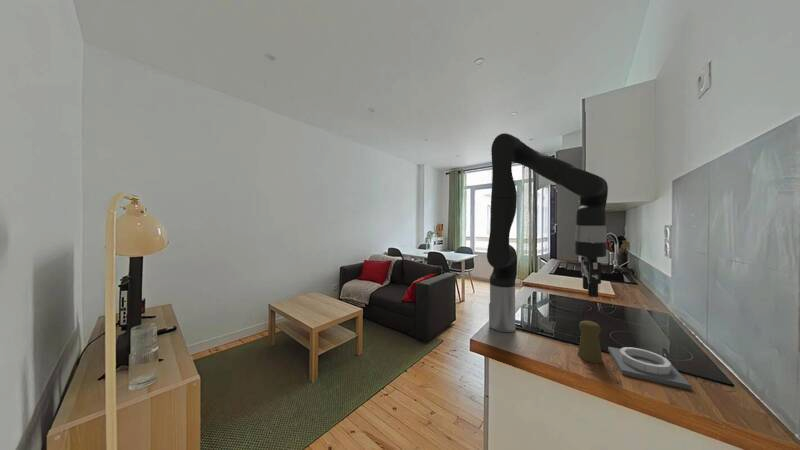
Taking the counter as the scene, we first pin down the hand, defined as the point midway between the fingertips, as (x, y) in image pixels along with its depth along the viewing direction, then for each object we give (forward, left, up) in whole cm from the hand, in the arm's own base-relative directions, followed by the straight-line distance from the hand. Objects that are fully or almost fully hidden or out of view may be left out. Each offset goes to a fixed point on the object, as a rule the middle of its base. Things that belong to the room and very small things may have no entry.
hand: (589, 292), depth 74 cm
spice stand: (+12, +1, -20) cm, 24 cm away
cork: (0, 0, -20) cm, 20 cm away
